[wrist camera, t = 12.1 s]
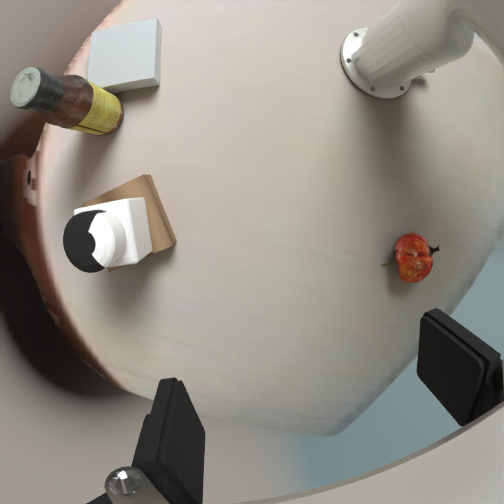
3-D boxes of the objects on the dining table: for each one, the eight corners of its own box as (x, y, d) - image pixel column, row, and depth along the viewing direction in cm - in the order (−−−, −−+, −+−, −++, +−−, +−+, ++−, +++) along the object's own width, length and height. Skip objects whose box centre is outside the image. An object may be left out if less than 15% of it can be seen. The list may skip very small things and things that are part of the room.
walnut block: (151, 174, 40) (143, 174, 36) (177, 240, 43) (172, 246, 39) (93, 202, 40) (81, 205, 36) (118, 264, 43) (109, 271, 39)
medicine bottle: (105, 258, 38) (63, 283, 26) (96, 206, 36) (50, 213, 25) (153, 251, 38) (124, 276, 27) (145, 196, 37) (111, 199, 25)
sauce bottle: (121, 89, 36) (54, 39, 17) (129, 127, 38) (59, 95, 18) (83, 106, 36) (2, 73, 17) (90, 143, 38) (5, 128, 18)
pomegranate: (389, 277, 49) (443, 266, 42) (382, 295, 43) (444, 285, 37) (379, 236, 47) (435, 223, 41) (370, 249, 42) (435, 235, 36)
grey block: (162, 29, 35) (157, 17, 31) (160, 85, 37) (154, 77, 33) (101, 41, 34) (92, 32, 30) (97, 97, 36) (86, 91, 32)
